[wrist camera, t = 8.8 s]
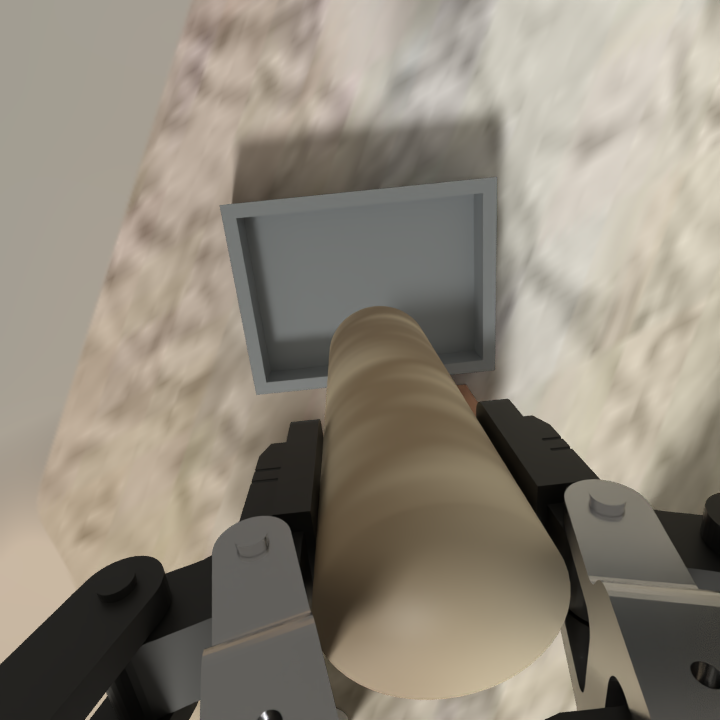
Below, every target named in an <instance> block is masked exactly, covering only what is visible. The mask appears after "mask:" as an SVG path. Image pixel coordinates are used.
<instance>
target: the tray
mask: <svg viewBox="0 0 720 720" xmlns="http://www.w3.org/2000/svg"><path fill="white" fill-rule="evenodd" d="M220 210H221V215H222V220H223V225H224V231H225V236H226V241H227V246H228V251H229V256H230V261H231V267H232V272H233V277H234V282H235V287H236V292H237V298H238V303H239V308H240V313H241V318H242V323H243V328H244V334H245V339H246V344H247V349H248V354H249V359H250V364H251V370H252V375H253V380H254V385H255V390H256V395H260V394H269V393H279V392H289V391H299V390H308V389H318V388H327V380H328V366H329V352H330V344H331V340H332V338H333V335H334V333H335V331H336V330H337V328H338V327H339V325H340V324H341V323H342V322H343V321H344V320H345V319H346V318H347V317H349V316H350V315H352V314H353V313H355V312H357V311H359V310H361V309H364V308H367V307H373V306H387V307H392V308H396V309H398V310H401V311H403V312H405V313H406V314H408V315H409V316H411V317H412V318H413V319H414V320H415V321H416V322H417V323H418V325H419V326H420V327H421V329H422V331H423V332H424V334H425V335H426V337H427V339H428V340H429V342H430V343H431V345H432V347H433V348H434V350H435V352H436V353H437V355H438V356H439V358H440V360H441V361H442V363H443V365H444V366H445V368H446V369H447V371H448V373H449V374H450V375H453V374H463V373H473V372H482V371H492V370H495V324H496V228H497V177H491V178H481V179H471V180H461V181H452V182H442V183H432V184H422V185H412V186H403V187H393V188H383V189H373V190H364V191H354V192H344V193H334V194H324V195H315V196H305V197H295V198H285V199H276V200H266V201H256V202H246V203H236V204H227V205H220Z"/></svg>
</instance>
